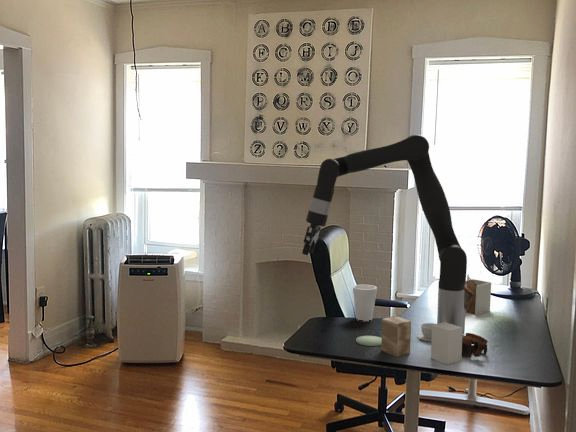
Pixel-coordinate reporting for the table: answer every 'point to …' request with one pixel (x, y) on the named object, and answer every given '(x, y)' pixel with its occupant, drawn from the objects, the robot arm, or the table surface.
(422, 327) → the teacup
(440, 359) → the tall cream pedestal
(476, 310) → the two-tone wooden box
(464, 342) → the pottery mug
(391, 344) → the tan cardboard box
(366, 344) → the felt mat
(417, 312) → the table surface
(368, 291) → the foam cup
